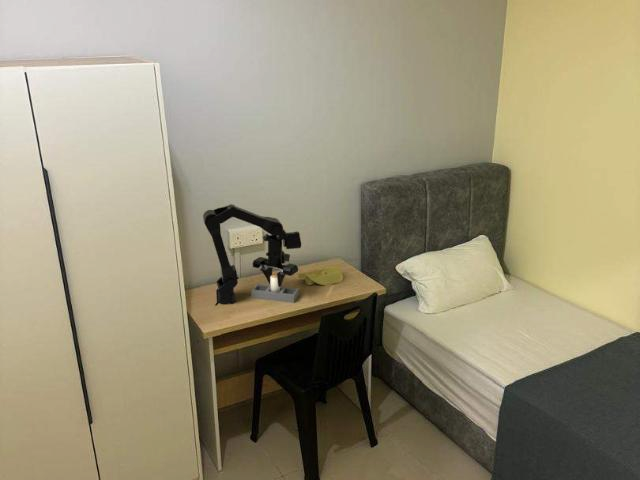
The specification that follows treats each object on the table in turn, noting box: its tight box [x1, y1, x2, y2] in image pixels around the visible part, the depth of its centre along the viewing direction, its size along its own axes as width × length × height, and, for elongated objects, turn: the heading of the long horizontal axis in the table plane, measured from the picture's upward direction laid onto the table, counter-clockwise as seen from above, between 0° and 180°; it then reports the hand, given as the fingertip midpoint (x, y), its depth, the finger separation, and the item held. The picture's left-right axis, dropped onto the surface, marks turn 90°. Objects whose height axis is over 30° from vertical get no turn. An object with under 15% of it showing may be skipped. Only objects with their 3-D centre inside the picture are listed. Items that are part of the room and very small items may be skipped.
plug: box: [269, 273, 280, 293], centre depth 241 cm, size 4×4×8 cm
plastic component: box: [297, 265, 344, 286], centre depth 259 cm, size 20×7×10 cm
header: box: [250, 283, 300, 304], centre depth 242 cm, size 18×8×4 cm, turn 77°
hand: (275, 285), depth 241 cm, fingers closed on plug, 4 cm apart
